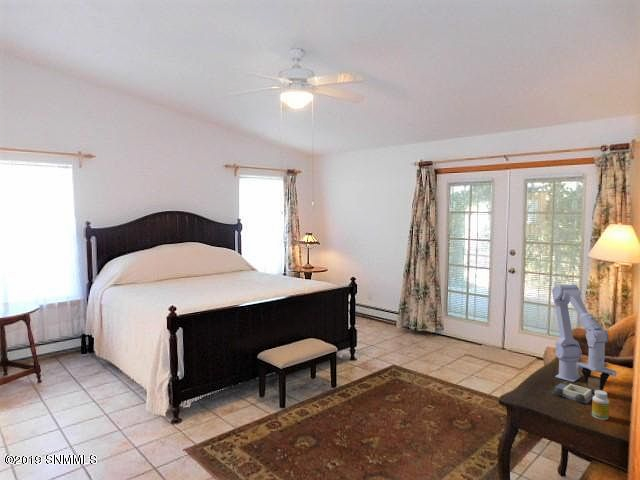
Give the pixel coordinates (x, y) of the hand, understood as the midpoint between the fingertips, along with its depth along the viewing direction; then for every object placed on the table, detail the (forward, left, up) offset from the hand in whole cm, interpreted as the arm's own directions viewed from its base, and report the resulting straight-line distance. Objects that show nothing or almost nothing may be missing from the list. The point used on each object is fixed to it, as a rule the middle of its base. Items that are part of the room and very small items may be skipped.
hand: (595, 387), depth 181 cm
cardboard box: (0, 0, -2) cm, 2 cm away
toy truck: (+10, -5, -2) cm, 11 cm away
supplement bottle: (+23, +8, -3) cm, 24 cm away
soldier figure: (-37, -9, -3) cm, 38 cm away
